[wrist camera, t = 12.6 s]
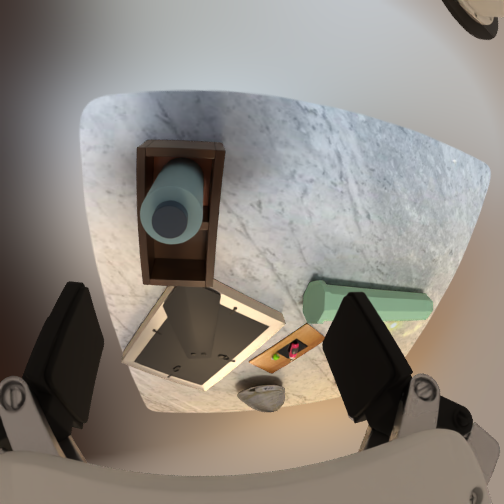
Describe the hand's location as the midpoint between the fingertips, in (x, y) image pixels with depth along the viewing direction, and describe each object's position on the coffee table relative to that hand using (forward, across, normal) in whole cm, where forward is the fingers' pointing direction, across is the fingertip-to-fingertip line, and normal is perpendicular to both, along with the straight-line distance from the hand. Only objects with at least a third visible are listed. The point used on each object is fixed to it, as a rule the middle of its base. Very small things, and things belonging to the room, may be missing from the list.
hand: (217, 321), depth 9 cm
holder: (+20, +3, +4) cm, 21 cm away
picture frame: (+20, +1, +24) cm, 31 cm away
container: (+20, -26, +16) cm, 37 cm away
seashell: (+20, -12, +40) cm, 46 cm away
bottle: (+19, +3, +1) cm, 20 cm away
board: (+20, -14, +28) cm, 37 cm away
